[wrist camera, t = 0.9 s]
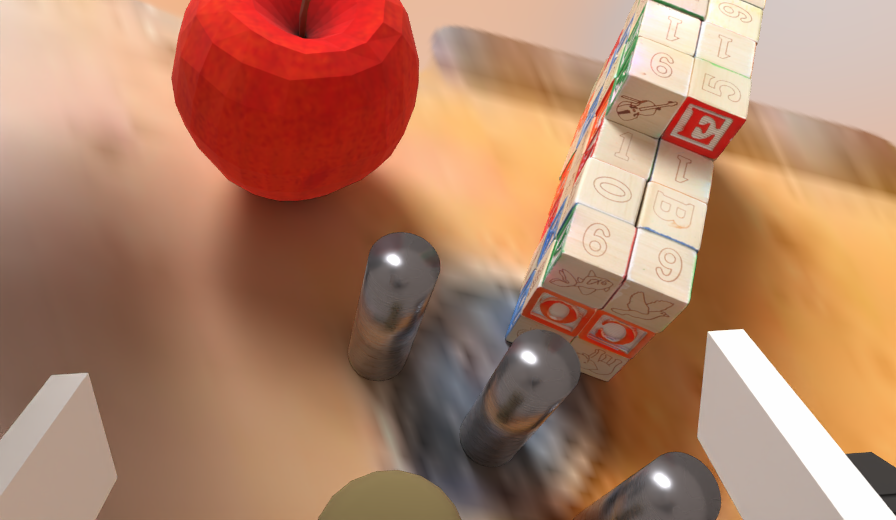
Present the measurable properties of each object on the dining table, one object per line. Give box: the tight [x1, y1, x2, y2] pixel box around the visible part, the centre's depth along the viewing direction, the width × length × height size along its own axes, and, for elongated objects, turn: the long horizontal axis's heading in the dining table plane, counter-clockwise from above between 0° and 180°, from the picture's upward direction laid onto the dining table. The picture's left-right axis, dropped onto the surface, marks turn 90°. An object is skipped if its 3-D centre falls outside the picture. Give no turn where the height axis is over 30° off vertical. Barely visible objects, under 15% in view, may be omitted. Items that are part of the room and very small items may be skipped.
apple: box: [172, 0, 419, 201], centre depth 39 cm, size 12×12×13 cm
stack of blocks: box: [505, 0, 766, 381], centre depth 42 cm, size 21×6×12 cm, turn 161°
